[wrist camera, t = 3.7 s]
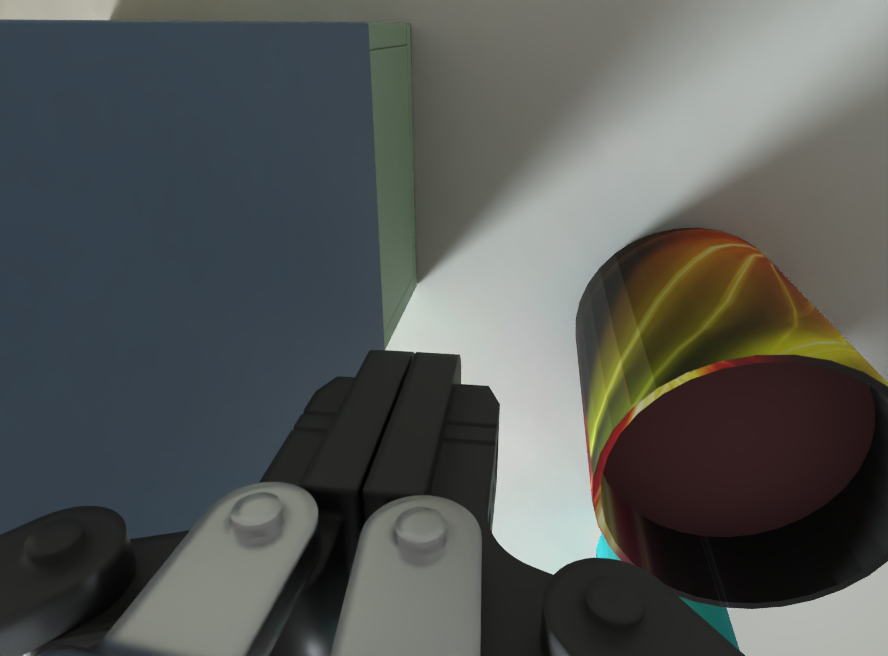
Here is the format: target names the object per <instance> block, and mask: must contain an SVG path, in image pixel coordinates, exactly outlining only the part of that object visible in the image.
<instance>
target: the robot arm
mask: <svg viewBox="0 0 888 656" xmlns="http://www.w3.org/2000/svg"><path fill="white" fill-rule="evenodd" d="M499 409H500V404H499V402H498V401H497V399H496V397H495V396H494V394H493V392H492V391H491V389H490V388H489V386H479V385H464V384H461V358H460V355H455V354H439V353H422V352H416V353H414V352H403V351H387V350H370V351H369V352H368V354H367V356H366V358H365V359H364V361H363V363H362V365H361V367H360V369H359V371H358V373H357V375H356V376H355V377H342V376H337V377H335V378H334V379H333V380H331V381H330V382H328V383H327V384H325V385H324V386H323V387H321V388H320V389H318V390H317V391H315V393H314V394H313V396H312V398H311V399H310V401H309V402H308V404H307V406H306V407H305V409H304V413H303V414H301V415H300V417H299V419H298V420H297V422H296V423H295V425H294V430H291V432H290V433H289V435H288V436H287V438H286V440H285V441H284V443H283V444H282V446H281V448H280V449H279V451H278V453H277V454H276V456H275V457H274V459H273V461H272V462H271V464H270V465H269V467H268V469H267V470H266V472H265V474H264V475H263V477H262V478H261V480H260V482H259V483H256V484H252V485H248V486H244V487H241V488H239V489H236V490H234V491H232V492H230V493H228V494H226V495H224V496H223V497H221V498H220V499H218V500H217V501H216V502H215V503H213V504H212V505H211V506H210V507H209V508H208V509H207V510H206V511H205V513H204V514H203V515H202V516H201V518H200V519H199V520H198V521H197V522H196V524H195V525H194V526H193V527H192V529H191V530H187V531H182V532H175V533H168V534H161V535H155V536H148V537H141V538H134V539H130V537H129V534H128V531H127V527H126V524H125V521H124V519H123V518H122V517H121V516H120V515H119V514H118V513H117V512H115V511H114V510H112V509H109V508H106V507H100V506H78V507H72V508H67V509H63V510H59V511H56V512H53V513H50V514H47V515H45V516H42V517H40V518H38V519H35V520H33V521H31V522H28V523H26V524H24V525H22V526H19V527H17V528H15V529H12V530H10V531H8V532H6V533H3V534H1V535H0V656H745V655H744V654H743V653H742V652H740V651H739V650H738V649H737V648H736V647H735V646H734V645H733V644H731V643H730V642H729V641H728V640H727V639H726V638H725V637H724V636H722V635H721V634H720V633H719V632H718V631H717V630H716V629H715V628H713V627H712V626H711V625H710V624H709V623H708V622H707V621H706V620H704V619H703V618H702V617H701V616H700V615H699V614H698V613H696V612H695V611H694V610H693V609H692V608H691V607H690V606H689V605H687V604H686V603H685V602H684V601H683V600H682V599H681V598H680V597H678V596H677V595H676V594H675V593H674V592H673V591H672V590H671V589H669V588H668V587H667V586H666V585H665V584H664V583H663V582H661V581H660V580H659V579H658V578H656V577H655V576H654V575H652V574H650V573H649V572H647V571H645V570H644V569H642V568H640V567H637V566H635V565H633V564H630V563H627V562H624V561H620V560H615V559H610V558H587V559H583V560H578V561H575V562H573V563H570V564H568V565H566V566H564V567H563V568H561V569H560V570H558V571H557V572H556V573H555V574H554V575H552V574H550V573H547V572H544V571H542V570H539V569H537V568H534V567H532V566H529V565H527V564H525V563H523V562H521V561H519V560H518V559H516V558H514V557H513V556H512V555H510V554H509V553H508V552H507V551H505V550H504V549H503V548H502V547H501V546H500V544H499V543H498V542H497V541H496V539H495V538H494V536H493V534H492V522H493V513H494V503H495V492H496V482H497V460H498V434H499Z"/></svg>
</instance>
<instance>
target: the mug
mask: <svg viewBox="0 0 888 656" xmlns="http://www.w3.org/2000/svg"><path fill="white" fill-rule="evenodd" d="M576 344H577V354H578V364H579V373H580V383H581V393H582V403H583V413H584V423H585V433H586V443H587V453H588V463H589V472H590V482H591V492H592V502H593V506H594V511H595V515H596V519H597V523H598V526H599V528H600V530H601V532H602V534H603V536H604V538H605V540H606V541H607V543H608V545H609V547H610V548H611V549H612V550H613V551H614V553H615V554H616V555H617V556H618V557H619V559H620V560H621V561H624V562H627V563H630V564H633V565H635V566H637V567H640V568H642V569H644V570H645V571H647V572H649V573H650V574H652V575H654V576H655V577H656V578H658V579H659V580H660V581H661V582H663V583H664V584H665V585H666V586H667V587H668V588H669V589H671V590H672V591H673V592H674V593H675V594H676V595H677V596H679V597H682V598H685V599H687V600H690V601H693V602H698V603H703V604H708V605H713V606H719V607H727V608H746V609H757V608H769V607H781V606H787V605H792V604H796V603H801V602H806V601H811V600H814V599H817V598H820V597H823V596H825V595H828V594H831V593H834V592H837V591H840V590H842V589H844V588H846V587H848V586H850V585H852V584H853V583H855V582H857V581H859V580H861V579H863V578H865V577H867V576H869V575H870V574H871V573H873V572H874V571H875V570H877V569H878V568H879V567H881V566H882V565H883V564H884V563H886V562H887V561H888V383H887V382H886V381H885V380H884V379H883V378H882V376H881V375H880V374H879V373H878V372H877V371H876V370H875V369H874V368H873V367H872V366H871V365H870V364H869V363H868V362H867V361H866V360H865V359H864V358H863V357H862V356H861V355H860V354H859V353H858V352H857V351H856V349H855V348H854V347H853V346H852V345H851V344H850V343H849V342H848V341H847V340H846V339H845V338H844V337H843V336H842V335H841V334H840V333H839V332H838V331H837V330H836V329H835V328H834V327H833V326H832V325H831V324H830V323H829V321H828V320H827V319H826V318H825V317H824V316H823V315H822V314H821V313H820V312H819V311H818V310H817V309H816V308H815V307H814V306H813V305H812V304H811V303H810V302H809V301H808V300H807V299H806V298H805V297H804V296H803V295H802V293H801V292H800V291H799V290H798V289H797V288H796V287H795V286H794V285H793V284H792V283H791V282H790V281H789V280H788V279H787V278H786V277H785V276H784V275H783V274H782V273H781V272H780V271H779V270H778V269H777V268H776V266H775V265H774V264H773V263H772V262H771V261H770V260H769V259H768V258H767V257H765V256H764V255H763V254H762V253H761V252H760V251H759V250H758V249H757V248H755V247H754V246H752V245H750V244H749V243H747V242H746V241H744V240H742V239H741V238H738V237H735V236H732V235H730V234H727V233H724V232H721V231H716V230H709V229H702V228H683V229H673V230H668V231H664V232H659V233H654V234H652V235H649V236H647V237H644V238H642V239H640V240H637V241H635V242H633V243H631V244H630V245H628V246H626V247H625V248H623V249H622V250H620V251H619V252H617V253H615V254H614V255H613V256H612V257H611V258H610V259H609V260H608V261H607V262H606V263H605V264H604V265H602V266H601V267H600V268H599V270H598V271H597V272H596V274H595V275H594V277H593V278H592V279H591V281H590V282H589V283H588V285H587V287H586V289H585V292H584V294H583V296H582V298H581V300H580V303H579V308H578V312H577V316H576Z"/></svg>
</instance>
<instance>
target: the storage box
mask: <svg viewBox="0 0 888 656" xmlns="http://www.w3.org/2000/svg"><path fill="white" fill-rule="evenodd" d="M368 25H369V45H370V64H371V84H372V104H373V124H374V144H375V164H376V184H377V204H378V224H379V244H380V264H381V284H382V304H383V324H384V344H385V349H386V347H387V345H388V343H389V341H390V339H391V336H392V334H393V332H394V330H395V328H396V326H397V324H398V322H399V320H400V318H401V316H402V314H403V312H404V310H405V308H406V306H407V304H408V302H409V300H410V298H411V296H412V294H413V292H414V290H415V288H416V286H417V283H416V242H415V200H414V159H413V118H412V77H411V36H410V24H404V23H368Z"/></svg>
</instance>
